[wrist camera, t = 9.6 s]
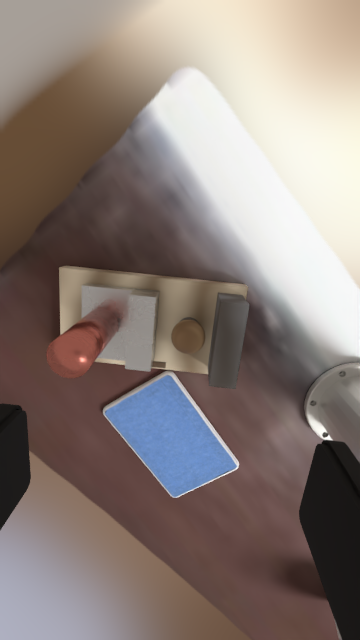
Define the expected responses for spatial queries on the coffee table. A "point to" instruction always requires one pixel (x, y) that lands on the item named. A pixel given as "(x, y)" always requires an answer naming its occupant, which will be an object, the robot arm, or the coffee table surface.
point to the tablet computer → (171, 434)
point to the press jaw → (108, 331)
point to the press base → (176, 319)
